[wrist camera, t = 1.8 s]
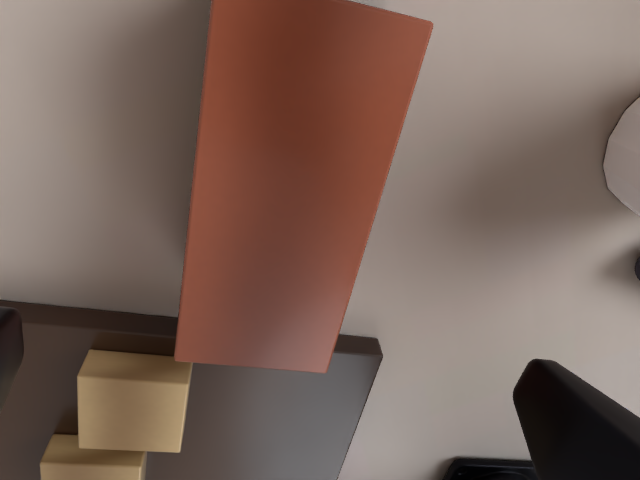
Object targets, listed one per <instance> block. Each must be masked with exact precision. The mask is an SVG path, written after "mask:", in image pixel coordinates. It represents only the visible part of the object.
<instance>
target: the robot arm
mask: <svg viewBox="0 0 640 480" xmlns="http://www.w3.org/2000/svg"><path fill="white" fill-rule="evenodd" d="M23 355H24V342H23V331H22V320H21V314H20V312H19V310H17V309H16V308H11V307H1V306H0V413H1V411H2V408H3V406H4V404H5V401H6V399H7V396H8V394H9V392H10V389H11V387H12V385H13V382H14V380H15V377H16V375H17V373H18V370H19V368H20V366H21V363H22V360H23ZM513 401H514V405H515V408H516V411H517V414H518V417H519V421H520V424H521V427H522V430H523V433H524V437H525V440H526V443H527V446H528V449H529V453H530V456H531V459H532V462H519V461H498V460H477V459H458V460H456V461H454V462H453V463H452V464H451V466H450V468H449V470H448V472H447V474H446V476H445V477H444V479H443V480H640V418H639V417H638V416H636V415H635V414H633V413H632V412H630V411H629V410H627V409H626V408H624V407H623V406H621V405H620V404H618V403H617V402H615V401H614V400H612V399H611V398H609V397H608V396H606V395H605V394H603V393H602V392H600V391H599V390H597V389H596V388H594V387H593V386H591V385H590V384H588V383H587V382H585V381H584V380H582V379H581V378H579V377H578V376H576V375H575V374H573V373H572V372H570V371H569V370H567V369H566V368H564V367H563V366H561V365H560V364H558V363H557V362H555V361H552V360H544V359H533V360H531V361H530V362H529V363H528V364H527V366H526V368H525V370H524V372H523V373H522V375H521V377H520V379H519V380H518V382H517V384H516V386H515V388H514V391H513Z"/></svg>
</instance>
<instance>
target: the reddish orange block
mask: <svg viewBox="0 0 640 480" xmlns="http://www.w3.org/2000/svg"><path fill="white" fill-rule="evenodd" d="M432 29H433V23H432V22H431V21H427V20H423V19H419V18H415V17H412V16H408V15H404V14H400V13H396V12H392V11H388V10H384V9H380V8H376V7H372V6H368V5H364V4H361V3H357V2H353V1H349V0H211V7H210V17H209V26H208V36H207V46H206V55H205V65H204V74H203V84H202V93H201V103H200V113H199V122H198V132H197V141H196V151H195V161H194V170H193V180H192V189H191V199H190V209H189V218H188V228H187V237H186V247H185V257H184V266H183V276H182V285H181V295H180V305H179V314H178V324H177V333H176V343H175V353H174V359H175V361H180V362H192V363H204V364H216V365H228V366H240V367H253V368H265V369H277V370H289V371H301V372H313V373H327V371H328V367H329V364H330V361H331V358H332V354H333V351H334V348H335V345H336V341H337V338H338V335H339V332H340V328H341V325H342V322H343V319H344V315H345V312H346V309H347V306H348V302H349V299H350V296H351V293H352V289H353V286H354V283H355V280H356V276H357V273H358V270H359V267H360V263H361V260H362V257H363V254H364V250H365V247H366V244H367V241H368V237H369V234H370V231H371V228H372V224H373V221H374V218H375V215H376V211H377V208H378V205H379V202H380V198H381V195H382V192H383V189H384V185H385V182H386V179H387V176H388V172H389V169H390V166H391V163H392V159H393V156H394V153H395V149H396V146H397V143H398V140H399V136H400V133H401V130H402V127H403V123H404V120H405V117H406V114H407V110H408V107H409V104H410V101H411V97H412V94H413V91H414V88H415V84H416V81H417V78H418V75H419V71H420V68H421V65H422V62H423V58H424V55H425V52H426V49H427V45H428V42H429V39H430V36H431V32H432Z"/></svg>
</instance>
